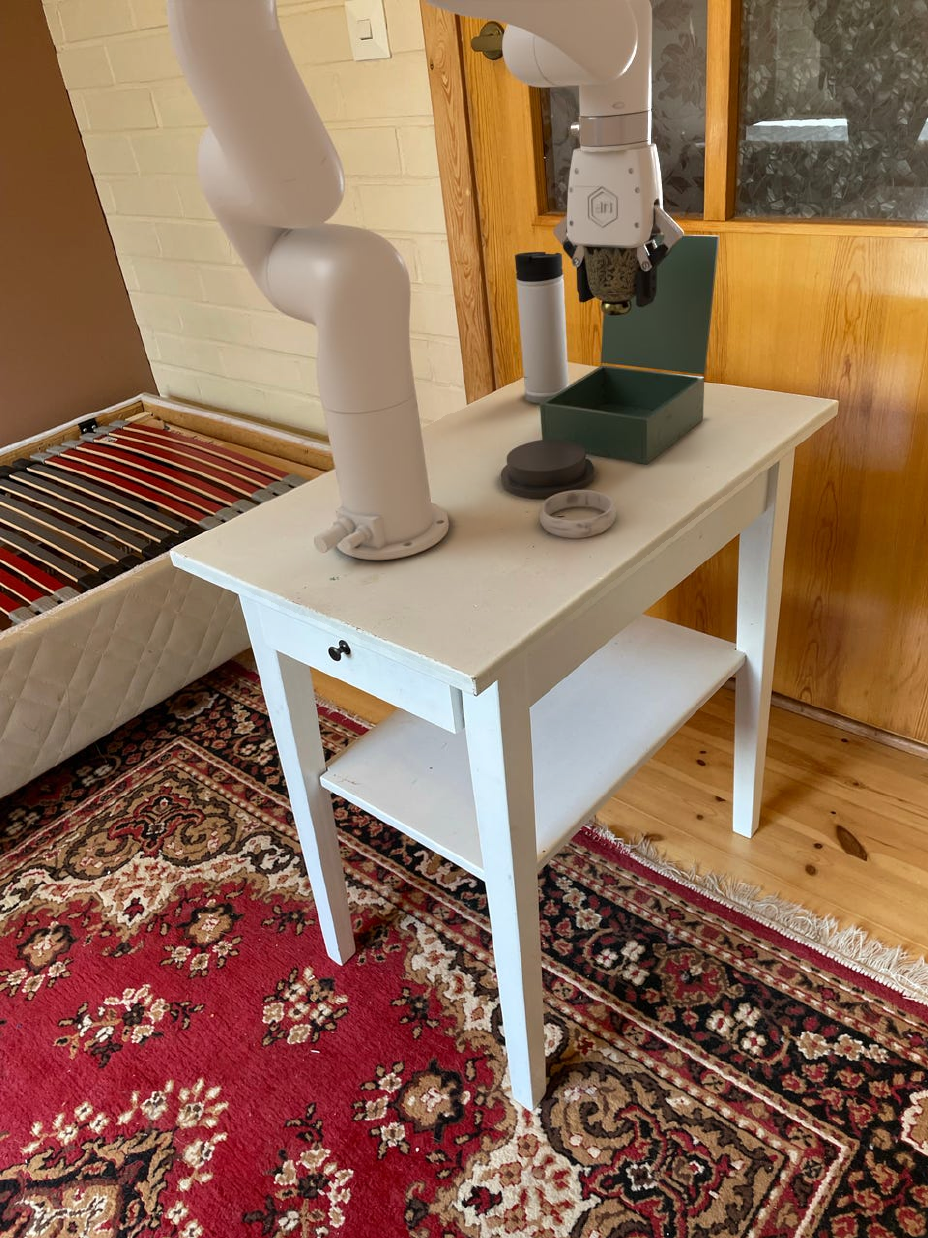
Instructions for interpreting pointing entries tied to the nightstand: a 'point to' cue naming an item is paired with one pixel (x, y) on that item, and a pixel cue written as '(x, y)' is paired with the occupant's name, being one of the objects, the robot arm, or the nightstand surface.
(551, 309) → the travel mug
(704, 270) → the tin lid
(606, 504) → the ring
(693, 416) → the tin
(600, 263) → the cup
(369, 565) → the nightstand surface
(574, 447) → the stand
